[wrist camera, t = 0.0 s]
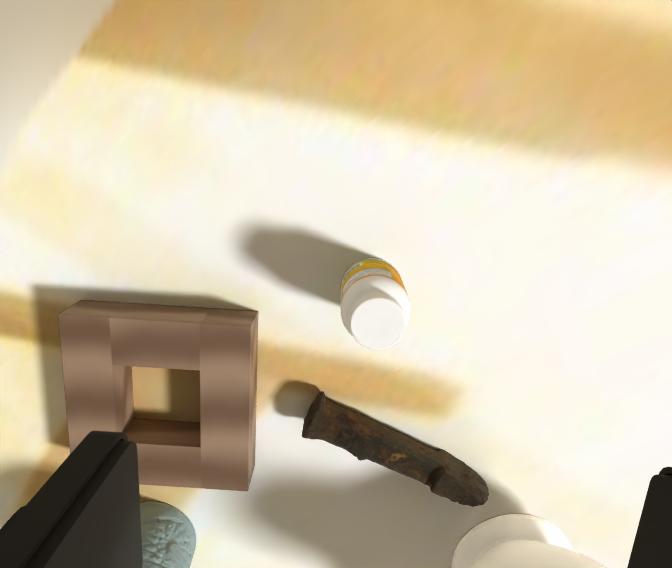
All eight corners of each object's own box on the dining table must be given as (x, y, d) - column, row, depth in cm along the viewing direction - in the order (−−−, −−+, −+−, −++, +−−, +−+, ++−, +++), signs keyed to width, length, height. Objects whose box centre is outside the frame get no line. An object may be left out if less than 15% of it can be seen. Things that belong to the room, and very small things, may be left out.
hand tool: (300, 417, 50) (296, 445, 46) (319, 384, 49) (317, 409, 45) (467, 498, 53) (478, 532, 48) (489, 468, 52) (502, 500, 47)
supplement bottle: (399, 316, 47) (412, 361, 38) (339, 313, 47) (338, 357, 38) (404, 258, 46) (419, 290, 36) (342, 255, 46) (342, 286, 36)
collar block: (81, 300, 47) (58, 314, 43) (258, 311, 47) (250, 326, 43) (92, 454, 52) (72, 479, 48) (254, 464, 52) (247, 491, 48)
